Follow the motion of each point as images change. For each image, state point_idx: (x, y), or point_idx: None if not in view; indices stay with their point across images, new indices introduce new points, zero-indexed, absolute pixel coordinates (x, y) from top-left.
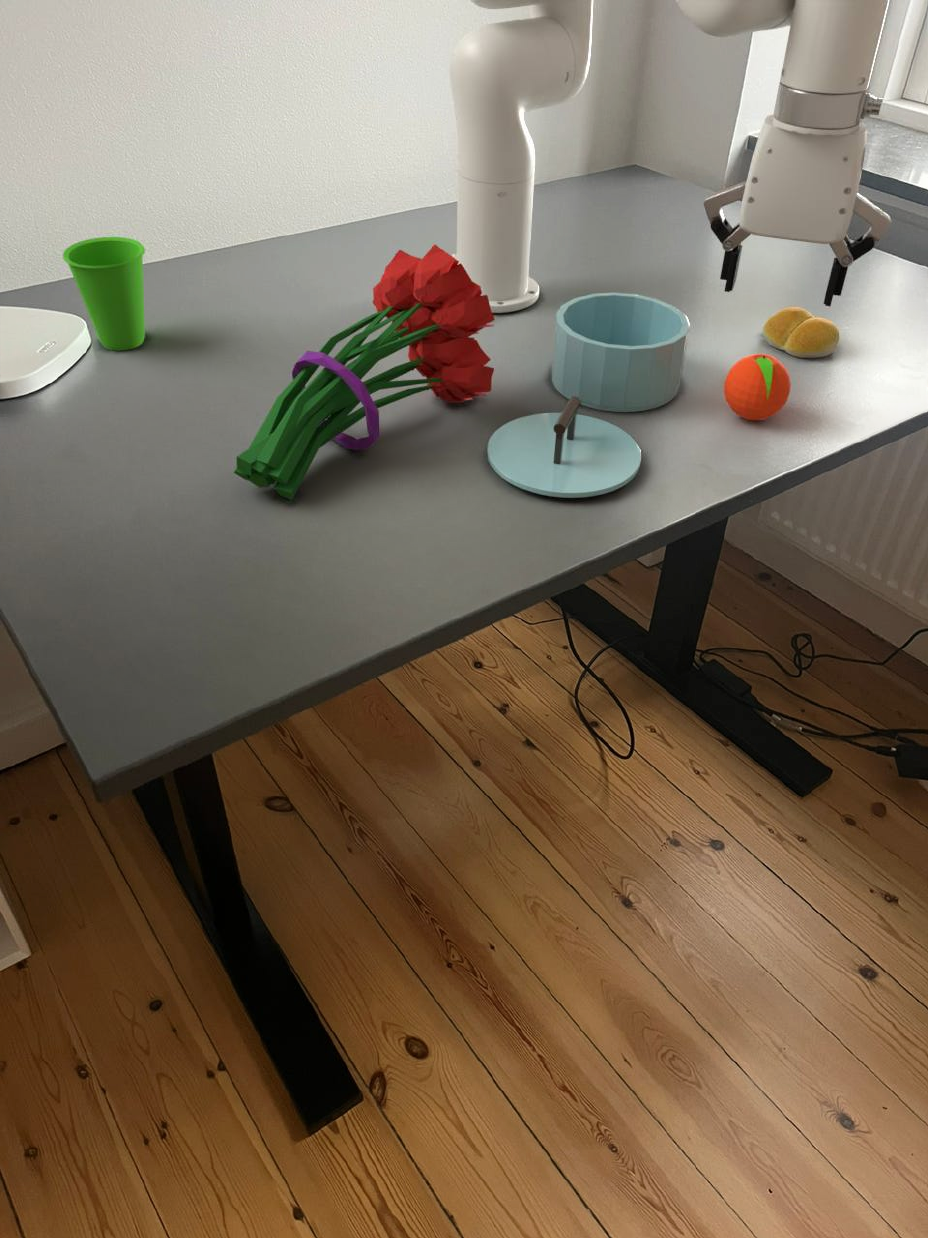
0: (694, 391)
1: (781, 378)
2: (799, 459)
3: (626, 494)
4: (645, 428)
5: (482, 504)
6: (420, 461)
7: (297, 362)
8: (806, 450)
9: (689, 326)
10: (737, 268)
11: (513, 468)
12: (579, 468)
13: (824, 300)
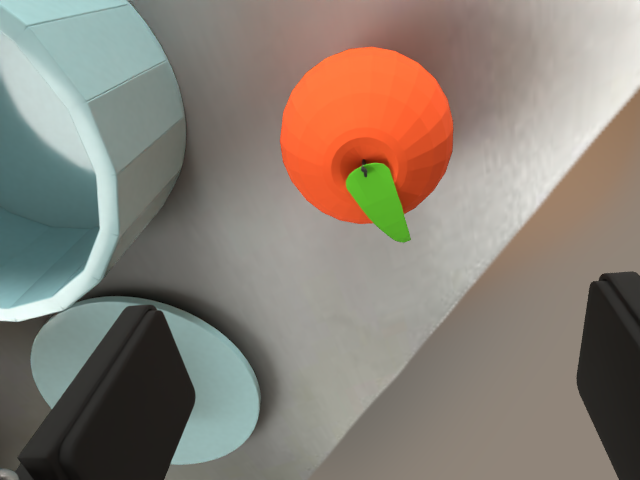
0: (209, 58)
1: (430, 186)
2: (496, 234)
3: (267, 411)
4: (201, 255)
5: None
6: (18, 435)
7: None
8: (507, 197)
9: (91, 111)
10: (142, 390)
11: None
12: (190, 419)
13: (584, 401)
